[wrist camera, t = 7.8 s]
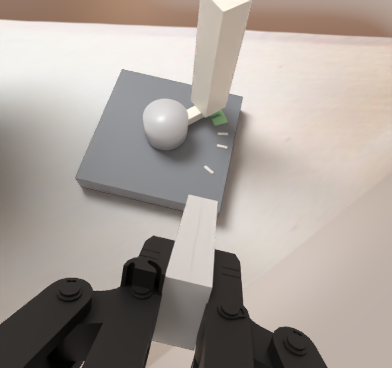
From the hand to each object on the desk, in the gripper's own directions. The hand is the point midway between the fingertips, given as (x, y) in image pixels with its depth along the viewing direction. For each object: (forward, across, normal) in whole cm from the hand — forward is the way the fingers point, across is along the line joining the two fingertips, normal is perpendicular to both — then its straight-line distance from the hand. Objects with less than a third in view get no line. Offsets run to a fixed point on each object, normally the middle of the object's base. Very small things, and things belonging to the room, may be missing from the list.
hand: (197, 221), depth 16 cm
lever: (+16, -3, +2) cm, 16 cm away
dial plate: (+16, -4, -1) cm, 17 cm away
